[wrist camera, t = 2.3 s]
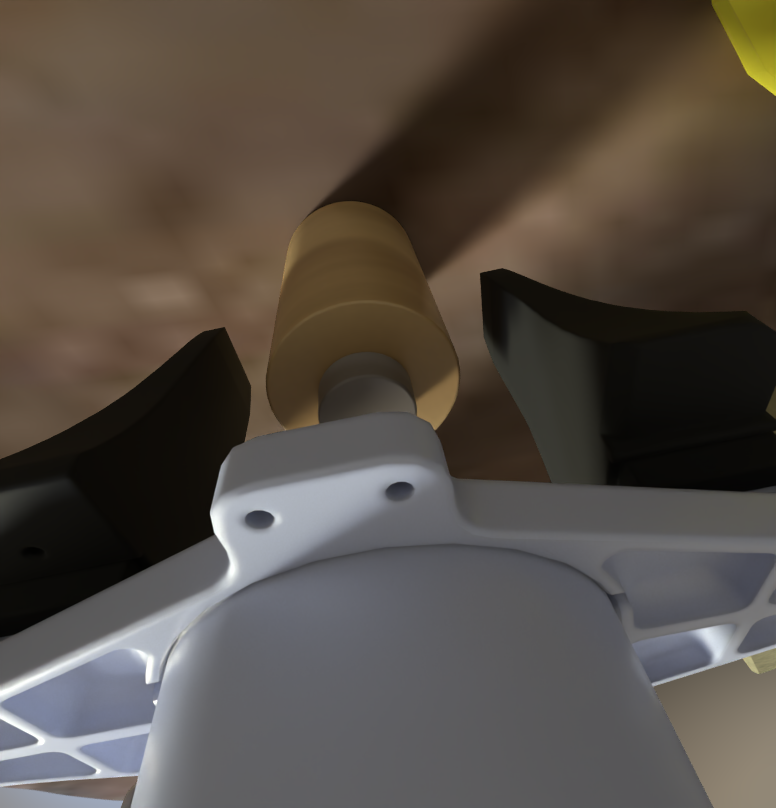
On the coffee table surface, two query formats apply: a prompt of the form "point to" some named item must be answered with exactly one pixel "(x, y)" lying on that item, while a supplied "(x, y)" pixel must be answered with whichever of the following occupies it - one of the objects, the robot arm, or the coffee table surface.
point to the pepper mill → (357, 325)
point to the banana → (752, 36)
